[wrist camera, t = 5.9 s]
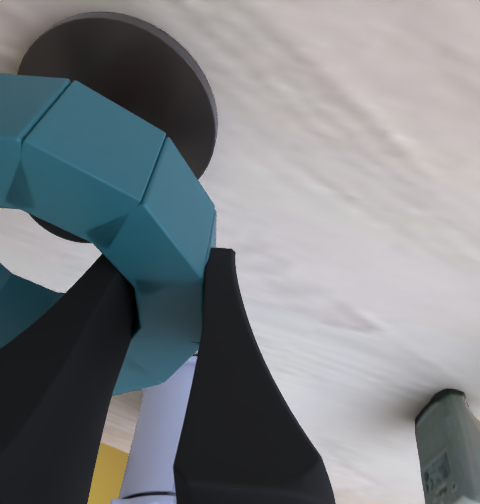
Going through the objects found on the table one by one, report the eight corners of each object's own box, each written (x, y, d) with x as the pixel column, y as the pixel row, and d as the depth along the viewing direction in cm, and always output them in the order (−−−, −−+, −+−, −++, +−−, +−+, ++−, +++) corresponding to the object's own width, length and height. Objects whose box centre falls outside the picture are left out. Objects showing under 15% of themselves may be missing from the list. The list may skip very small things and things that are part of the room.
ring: (214, 335, 17) (204, 408, 15) (-36, 315, 18) (-82, 385, 15) (219, 88, 11) (204, 152, 9) (-177, 58, 11) (-291, 113, 9)
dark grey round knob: (216, 202, 23) (199, 300, 18) (48, 189, 23) (-13, 282, 18) (219, 20, 17) (197, 90, 12) (-3, 3, 17) (-112, 67, 12)
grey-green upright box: (396, 391, 33) (421, 512, 27) (474, 379, 31) (519, 505, 25) (409, 428, 36) (434, 544, 30) (480, 419, 35) (521, 539, 29)
